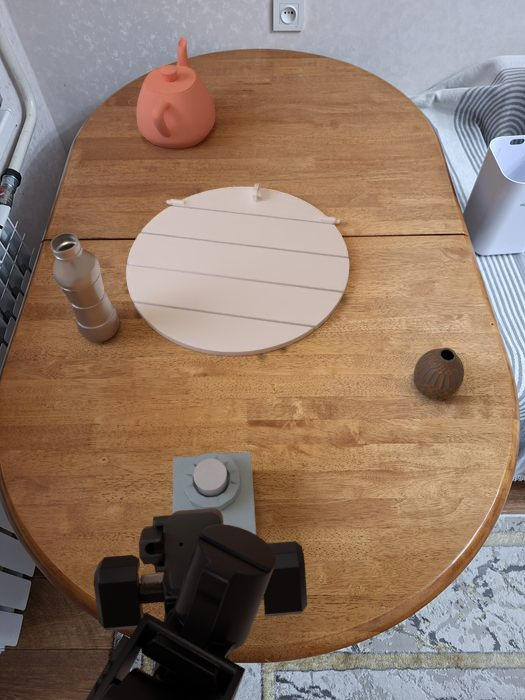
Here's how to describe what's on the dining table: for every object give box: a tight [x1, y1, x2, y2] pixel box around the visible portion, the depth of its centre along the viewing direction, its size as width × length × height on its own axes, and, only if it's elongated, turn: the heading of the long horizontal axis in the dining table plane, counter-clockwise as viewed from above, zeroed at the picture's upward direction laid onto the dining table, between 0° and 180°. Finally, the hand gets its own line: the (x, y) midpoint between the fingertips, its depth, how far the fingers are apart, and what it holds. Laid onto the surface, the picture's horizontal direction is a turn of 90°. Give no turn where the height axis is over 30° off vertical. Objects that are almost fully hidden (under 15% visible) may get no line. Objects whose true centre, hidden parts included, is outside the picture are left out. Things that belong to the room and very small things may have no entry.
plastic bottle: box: [50, 232, 120, 343], centre depth 82 cm, size 6×7×20 cm
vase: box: [413, 347, 465, 401], centre depth 79 cm, size 7×7×9 cm
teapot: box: [136, 36, 217, 149], centre depth 116 cm, size 25×17×13 cm
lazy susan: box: [125, 182, 350, 357], centre depth 97 cm, size 40×39×3 cm
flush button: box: [193, 459, 228, 496], centre depth 67 cm, size 4×4×2 cm
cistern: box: [171, 451, 258, 536], centre depth 69 cm, size 12×10×8 cm
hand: (207, 538), depth 58 cm, fingers closed
